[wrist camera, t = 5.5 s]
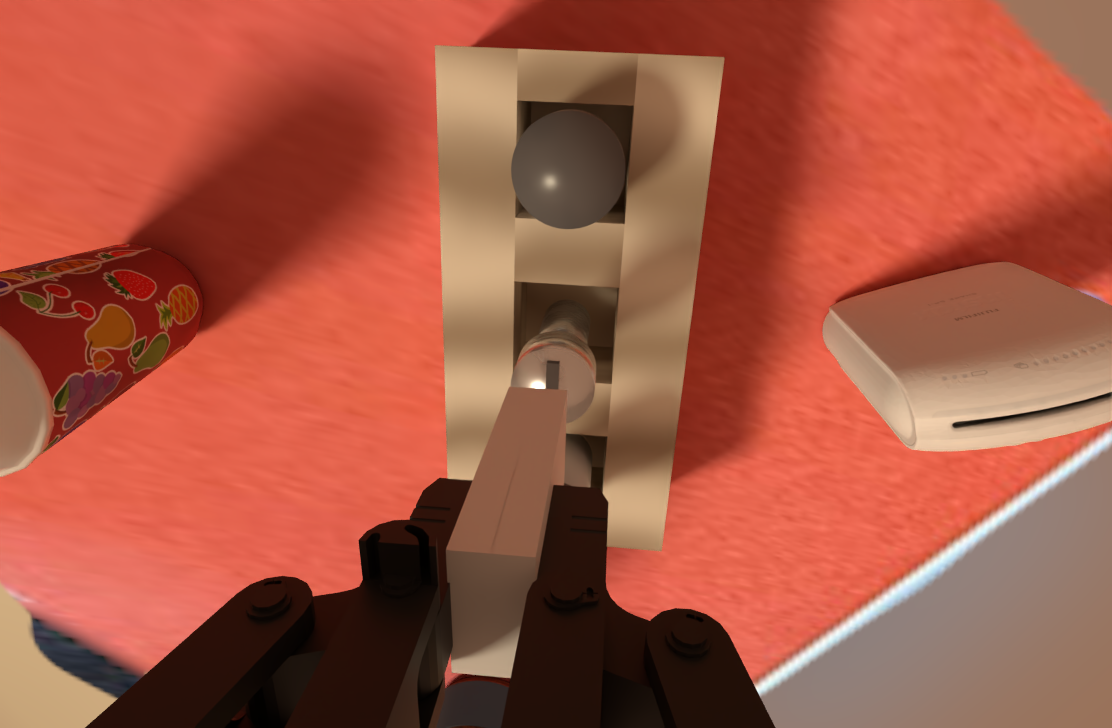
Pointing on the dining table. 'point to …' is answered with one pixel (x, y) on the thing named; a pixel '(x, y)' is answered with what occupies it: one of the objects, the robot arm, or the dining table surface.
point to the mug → (474, 703)
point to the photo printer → (977, 357)
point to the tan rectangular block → (576, 255)
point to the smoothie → (84, 339)
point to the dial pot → (560, 357)
